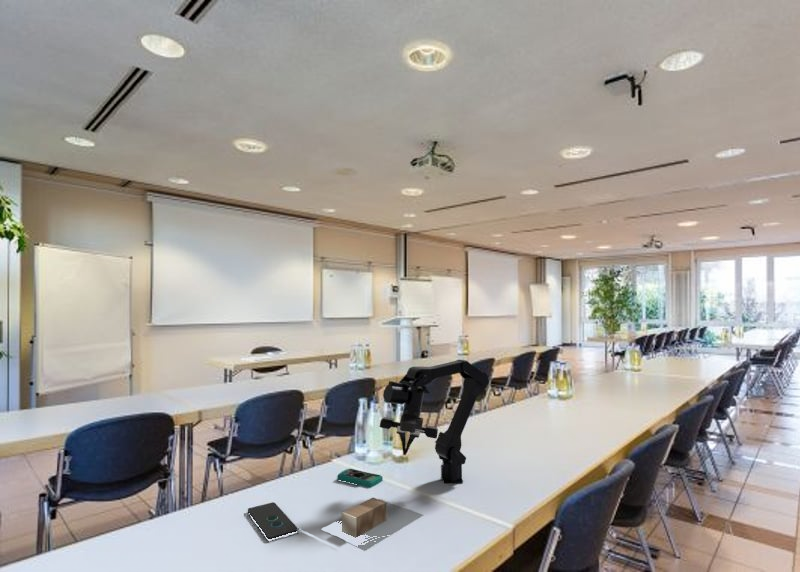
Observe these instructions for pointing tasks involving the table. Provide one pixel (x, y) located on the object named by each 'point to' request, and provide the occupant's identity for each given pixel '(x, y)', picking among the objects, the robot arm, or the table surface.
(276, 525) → the dark grey notebook
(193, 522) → the table surface
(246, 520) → the table surface
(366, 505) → the walnut block
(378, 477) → the digital multimeter
